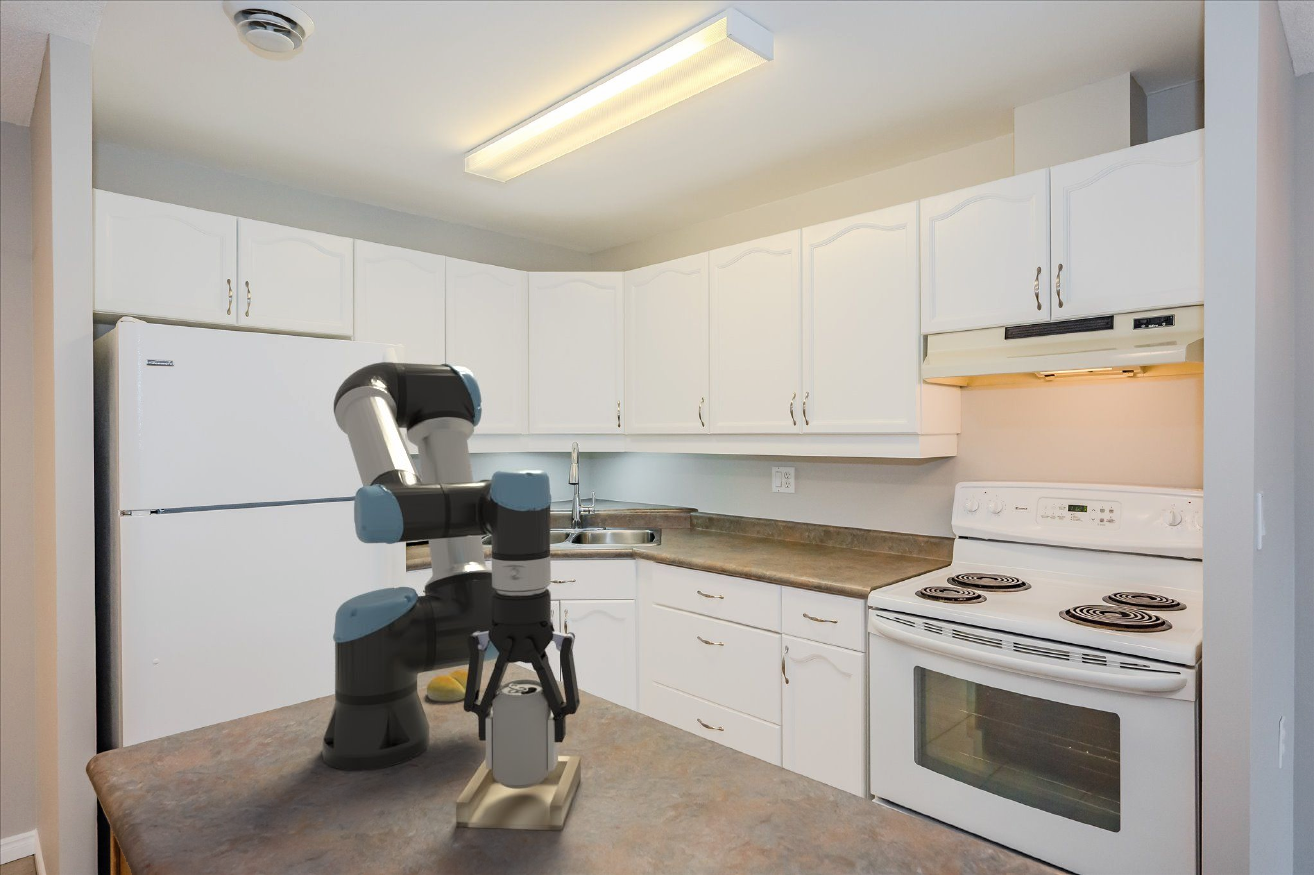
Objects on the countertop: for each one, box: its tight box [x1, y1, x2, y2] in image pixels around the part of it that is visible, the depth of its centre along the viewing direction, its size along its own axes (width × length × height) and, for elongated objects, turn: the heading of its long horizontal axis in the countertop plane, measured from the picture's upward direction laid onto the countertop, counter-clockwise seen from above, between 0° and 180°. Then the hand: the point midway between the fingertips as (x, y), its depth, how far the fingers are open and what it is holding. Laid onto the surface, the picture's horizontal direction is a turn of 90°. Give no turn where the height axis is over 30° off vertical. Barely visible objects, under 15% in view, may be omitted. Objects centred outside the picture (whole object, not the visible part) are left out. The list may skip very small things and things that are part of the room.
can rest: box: [455, 755, 582, 831], centre depth 93 cm, size 13×13×3 cm
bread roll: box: [426, 669, 468, 703], centre depth 131 cm, size 8×9×4 cm
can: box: [491, 678, 552, 789], centre depth 93 cm, size 8×8×12 cm
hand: (522, 764), depth 93 cm, fingers closed on can, 7 cm apart
